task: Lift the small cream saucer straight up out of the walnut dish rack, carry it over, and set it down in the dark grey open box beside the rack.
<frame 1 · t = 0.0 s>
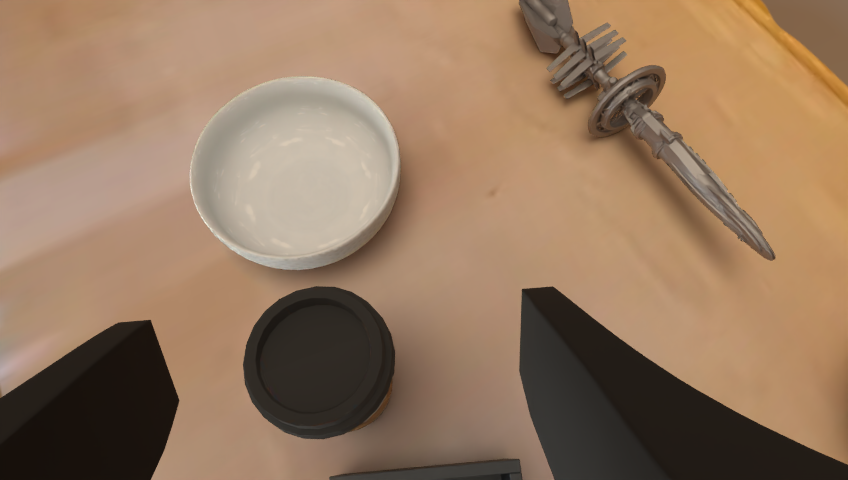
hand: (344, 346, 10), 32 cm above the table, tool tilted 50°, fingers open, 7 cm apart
coffee cup: (351, 387, 41), on the table
cereal bowl: (313, 200, 48), on the table
spaceship: (612, 131, 51), on the table
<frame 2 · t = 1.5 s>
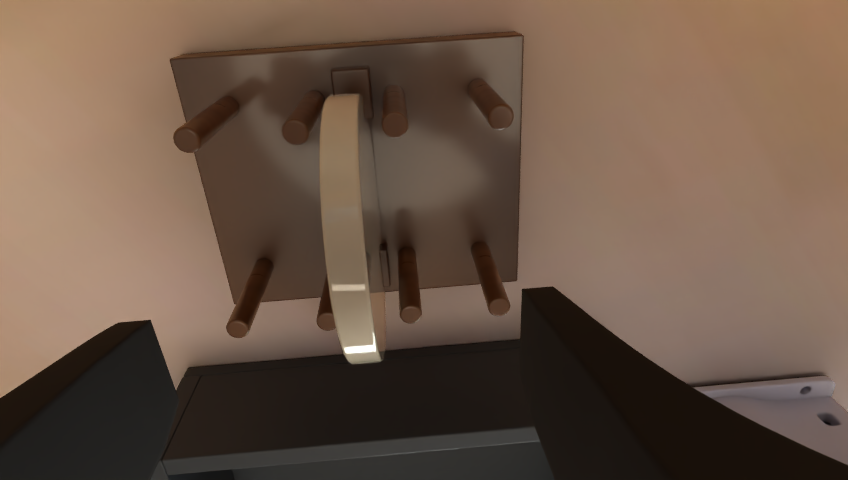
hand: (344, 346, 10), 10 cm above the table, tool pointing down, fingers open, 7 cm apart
dark grey open box: (397, 450, 26), on the table
dish rack: (365, 172, 20), on the table
saucer: (364, 183, 18), point 1 cm above the table, touching dish rack
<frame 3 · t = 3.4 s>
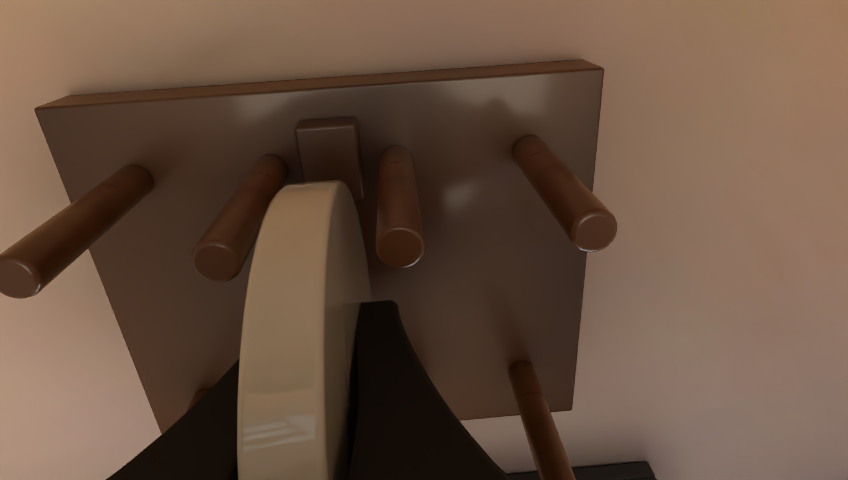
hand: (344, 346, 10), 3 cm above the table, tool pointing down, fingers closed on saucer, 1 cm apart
dish rack: (354, 262, 13), on the table
saucer: (351, 287, 12), point 1 cm above the table, touching dish rack, gripper
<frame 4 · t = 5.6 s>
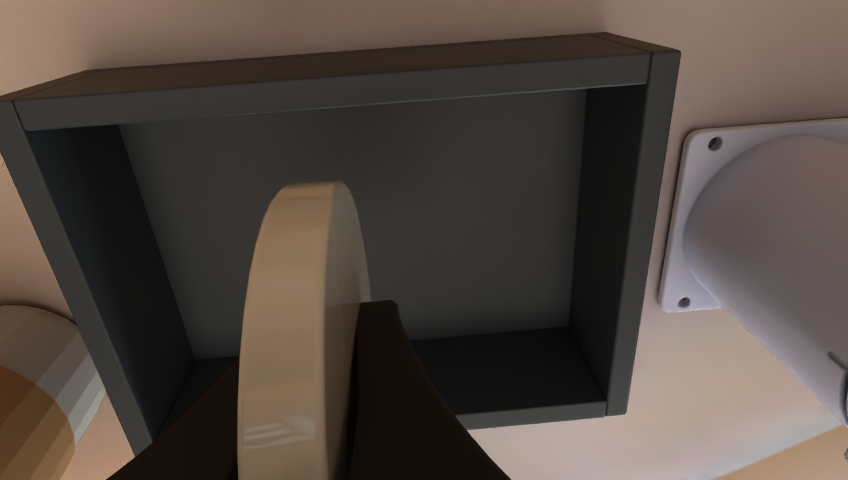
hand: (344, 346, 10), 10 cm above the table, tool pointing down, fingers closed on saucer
dark grey open box: (370, 220, 20), on the table
coffee cup: (37, 358, 23), on the table
saucer: (351, 287, 12), point 8 cm above the table, touching gripper
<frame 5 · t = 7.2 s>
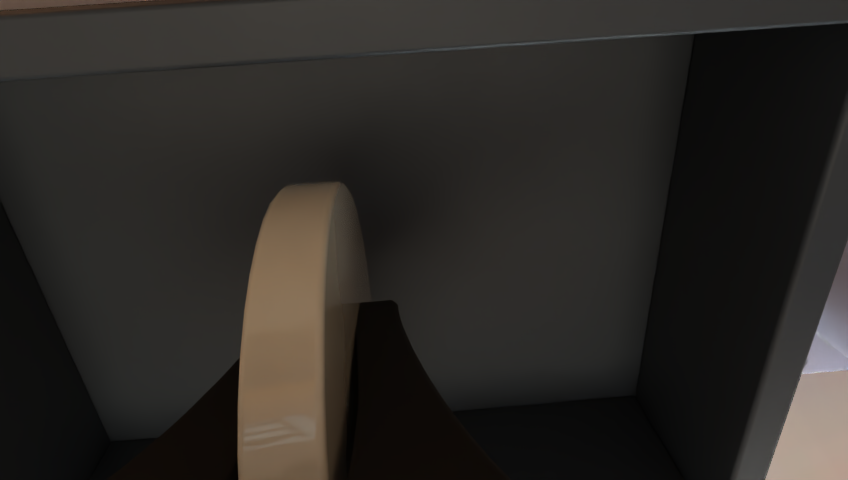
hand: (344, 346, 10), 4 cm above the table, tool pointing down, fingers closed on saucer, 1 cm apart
dark grey open box: (356, 249, 14), on the table
saucer: (351, 287, 12), point 2 cm above the table, touching gripper
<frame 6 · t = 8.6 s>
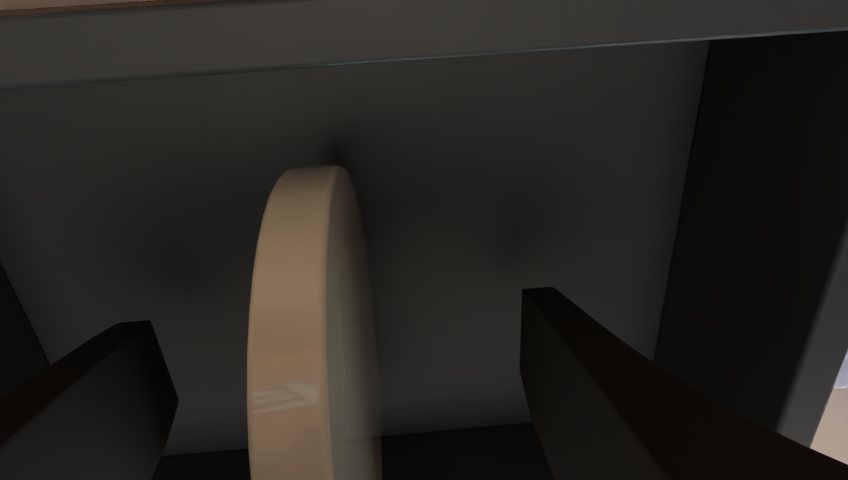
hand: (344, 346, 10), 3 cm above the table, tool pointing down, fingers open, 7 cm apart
dark grey open box: (354, 263, 13), on the table
saucer: (351, 275, 13), point 1 cm above the table, touching dark grey open box
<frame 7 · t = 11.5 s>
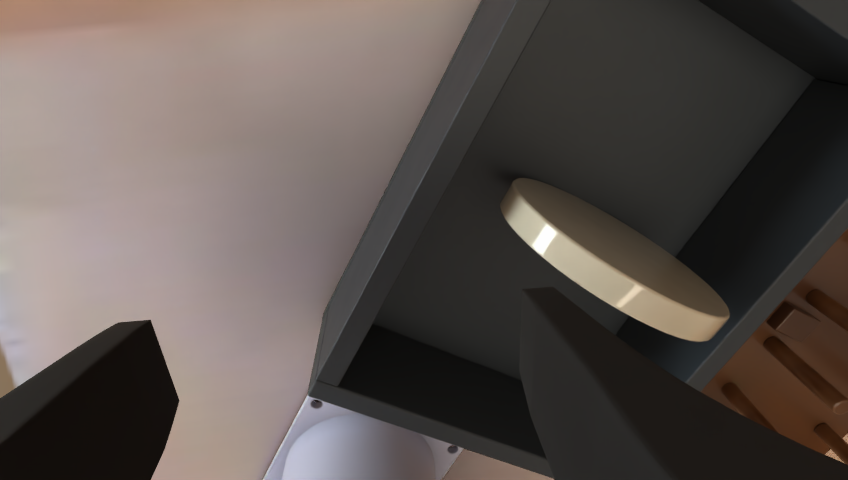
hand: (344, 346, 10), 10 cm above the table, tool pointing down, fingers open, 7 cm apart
dark grey open box: (558, 198, 21), on the table
dish rack: (820, 328, 24), on the table
saucer: (564, 203, 20), point 1 cm above the table, tilted 5°, touching dark grey open box
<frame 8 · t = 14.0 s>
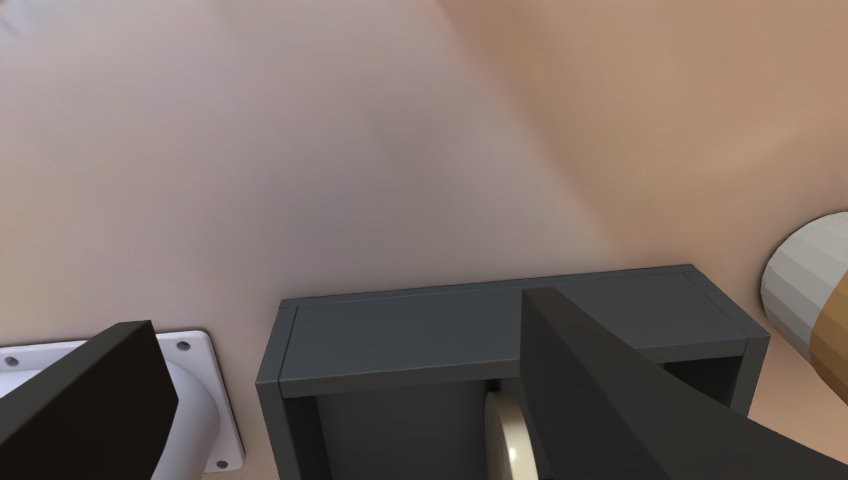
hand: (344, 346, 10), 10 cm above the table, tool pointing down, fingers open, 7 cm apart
dark grey open box: (490, 394, 25), on the table
coffee cup: (822, 269, 23), on the table
saucer: (493, 405, 24), point 1 cm above the table, tilted 13°, touching dark grey open box
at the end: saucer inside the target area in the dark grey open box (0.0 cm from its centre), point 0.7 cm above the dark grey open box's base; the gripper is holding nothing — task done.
